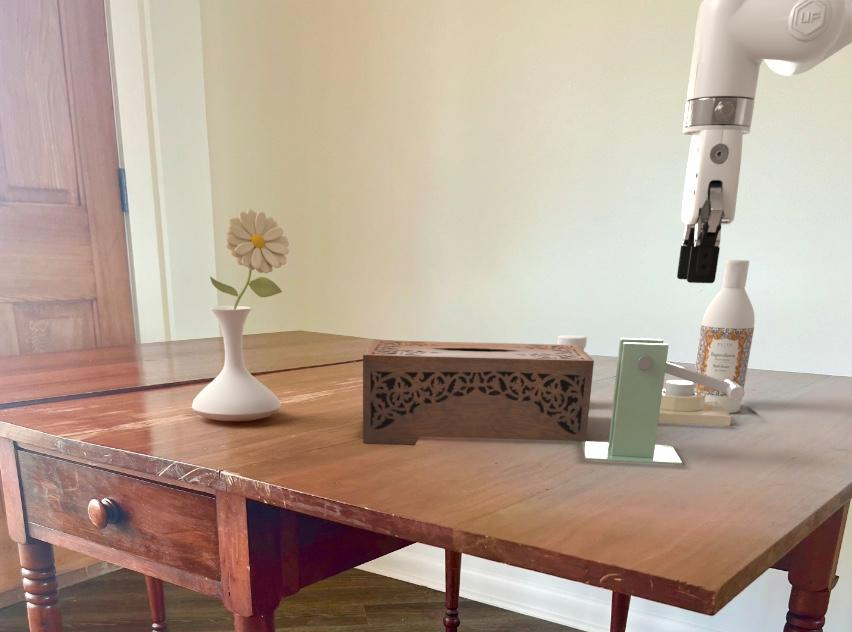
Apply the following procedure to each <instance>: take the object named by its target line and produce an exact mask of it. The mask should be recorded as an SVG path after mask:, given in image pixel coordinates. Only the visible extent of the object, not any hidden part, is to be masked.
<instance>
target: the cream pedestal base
mask: <svg viewBox="0 0 852 632" xmlns="http://www.w3.org/2000/svg"><path fill="white" fill-rule="evenodd" d="M705 396H706V395H705V394H704V393H702V392H698V391H694V393H693V395H691V396H678V395H669V394H665V388H663V391H662V399H661V406H660V414H659V421H658V424H659V423H660V424H679V425H680V424H681V425H682V424H683V425H685V424H686V425H705V426H706V425H707V426H725V427H726V426H728V427H730V426H731V424H732V417H733V416H732V414H729V413H728V412H727V411H726V410H725V409H724V408H723V407H722V406H721V405H720V404H719V403H718V402H707V401H705Z"/></svg>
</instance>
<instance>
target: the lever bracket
mask: <svg viewBox="0 0 852 632" xmlns="http://www.w3.org/2000/svg"><path fill="white" fill-rule="evenodd" d="M668 352H669V344H668V343H664V340H663V339H661V338H633V337H632V338H630V337H620V339H619V347H618V353H617V354H618V355H617V364H616V373H615V380H614V381H615V382H614V391H613V398H612V406H611V407H612V408H611V417H610V424H609V425H610V427H609V436H608V441H607V442H605V441H587V440H586V441H581V445H582V450H583V456H584V461H597V462H600V461H601V462H621V463H637V464H638V463H639V464H658V465H676V466H677V465H678V466H683V464H684V463H683V461H682V460H681V457H680V456H679V455H678V453H677V451H676V450H675V447H674V446H673V445H667V444H656V443H657V436H658V435H657V434H658V427H659V423H658V421H659V414H660V406H661V399H662V391H663V389H664V382H665V375H666V373H665V369H666V362H668V361H667V360H668V354H669V353H668Z"/></svg>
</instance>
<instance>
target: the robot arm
mask: <svg viewBox="0 0 852 632" xmlns="http://www.w3.org/2000/svg"><path fill="white" fill-rule="evenodd" d="M696 17H697V18H696V26H695V32H694V39H693V49H692V54H691V55H692V56H691V64H690V73H689V80H688V87H687V95H686V103H685V111H684V119H683V127H682V135H684V136H688V137H691V140H690V146H689V153H688V160H687V167H686V173H685V181H684V189H683V196H682V197H683V198H682V208H681V222H682V223H683V224H685V227H684V231H683V232H684V233H683V237H682V240H681V241H682V243H681V244H682V245H680V251H679V258H678V265H677V272H676V278H677V279H678V280H686V281H687V283H690V284H713V283H715V281H716V275H717V269H718V262H719V258H720V257H719V256H720V249H721V247H720V246H721V245H720V244H721V236H722V235H721V234H722V226H729V225H730V224H731V223H733V222H734V221H735V215H736V207H737V199H738V190H739V182H740V175H741V165H742V164H741V163H742V153H743V135H744V136H746V135H749V134H750V133H751V126H752V121H753V116H754V115H753V114H754V107H755V101H756V94H757V88H758V81H759V75H760V74H759V73H760V69H761V68H760V67H761V65H762V62H763V61H764V62H765V64H766V65H767V66H768V68H769V69H771V70H772V72H775V73H776V74H778V75H781V76H786V77H788V76H789V77H793V76H797V75H798V76H799V75H801V74H805V73H806V72H808V71H810V70H812V69H814V68H815V67H816V66H818V65H819V64H821V63H823V62H824V61H826V60H827V59H829V58H830V57H832V56H833V55H835V54H836V53H838V52H839V51H841V50H842V49H844V48H845V47H847V46H848V45H850V44H852V0H702V2H701V3H700V5H699V8H698V11H697V16H696Z"/></svg>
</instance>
